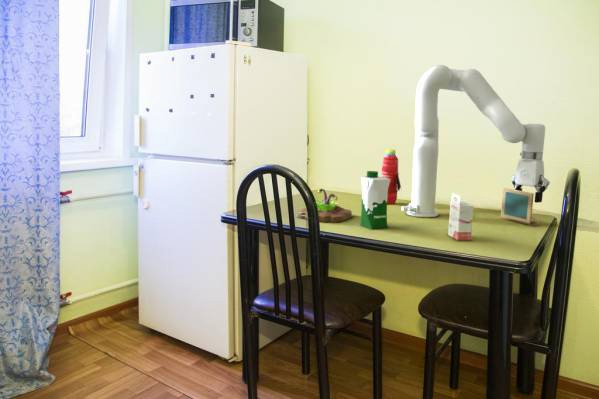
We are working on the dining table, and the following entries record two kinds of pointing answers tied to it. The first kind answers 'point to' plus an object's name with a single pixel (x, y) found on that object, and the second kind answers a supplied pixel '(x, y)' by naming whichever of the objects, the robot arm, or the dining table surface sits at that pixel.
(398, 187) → the water bottle
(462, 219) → the ink cartridge box
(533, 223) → the frame foot
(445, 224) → the dining table surface
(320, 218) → the plant
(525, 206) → the photo frame
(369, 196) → the milk carton
